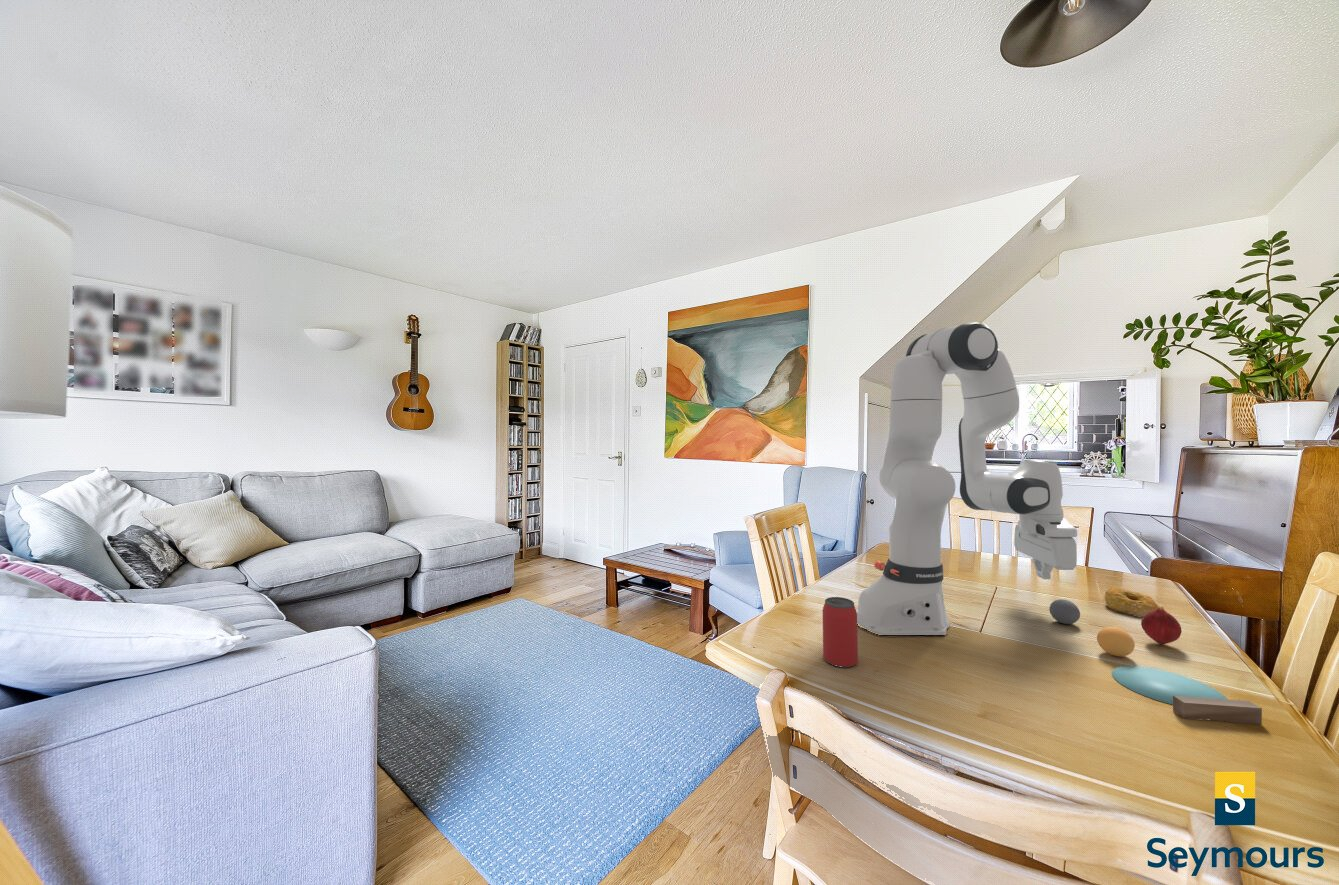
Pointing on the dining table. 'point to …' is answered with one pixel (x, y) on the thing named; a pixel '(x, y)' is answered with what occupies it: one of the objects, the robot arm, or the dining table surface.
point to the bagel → (1129, 602)
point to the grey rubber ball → (1064, 611)
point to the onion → (1161, 626)
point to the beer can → (840, 632)
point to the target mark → (1162, 684)
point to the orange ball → (1115, 641)
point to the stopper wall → (1217, 709)
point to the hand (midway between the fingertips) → (1043, 577)
